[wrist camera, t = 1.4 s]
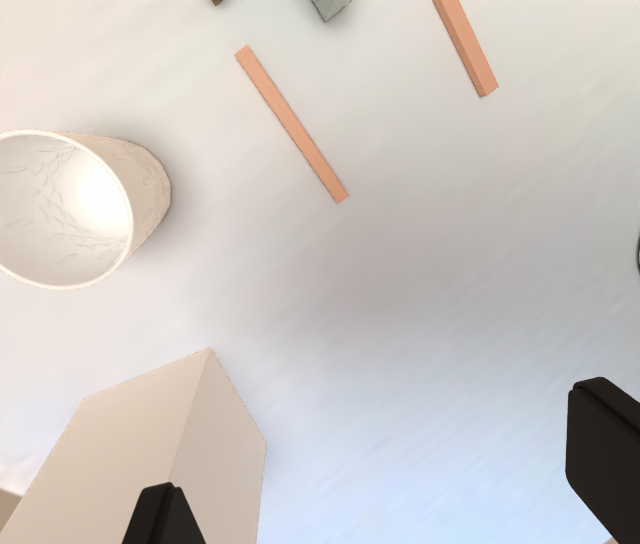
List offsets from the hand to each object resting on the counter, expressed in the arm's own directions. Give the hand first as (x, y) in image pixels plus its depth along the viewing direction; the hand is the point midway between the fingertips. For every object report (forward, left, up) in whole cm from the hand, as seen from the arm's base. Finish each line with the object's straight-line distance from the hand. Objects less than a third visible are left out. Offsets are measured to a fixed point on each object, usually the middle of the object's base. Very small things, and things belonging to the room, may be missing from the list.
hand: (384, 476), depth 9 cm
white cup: (+9, -11, -23) cm, 27 cm away
